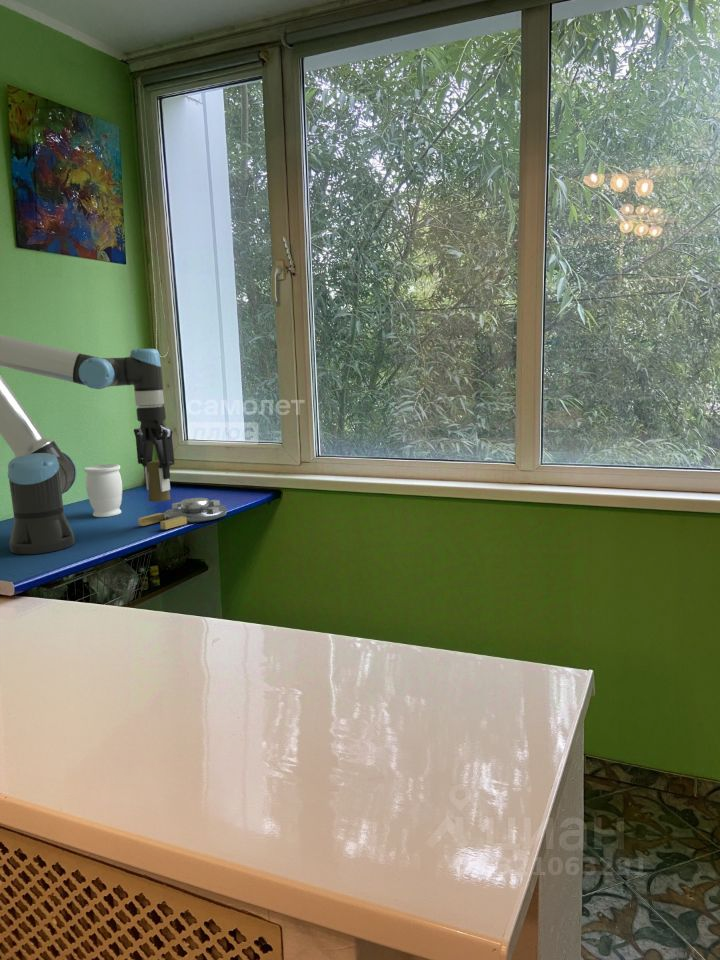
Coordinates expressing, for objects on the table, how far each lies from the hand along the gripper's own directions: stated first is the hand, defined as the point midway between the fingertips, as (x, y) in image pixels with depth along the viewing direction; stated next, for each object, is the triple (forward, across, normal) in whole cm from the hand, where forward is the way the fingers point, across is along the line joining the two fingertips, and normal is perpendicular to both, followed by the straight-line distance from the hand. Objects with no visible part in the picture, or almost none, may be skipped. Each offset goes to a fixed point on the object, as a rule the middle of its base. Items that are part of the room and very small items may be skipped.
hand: (158, 489), depth 196 cm
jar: (+11, +29, -3) cm, 31 cm away
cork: (+3, 0, 0) cm, 3 cm away
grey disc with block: (+10, 0, -9) cm, 14 cm away
